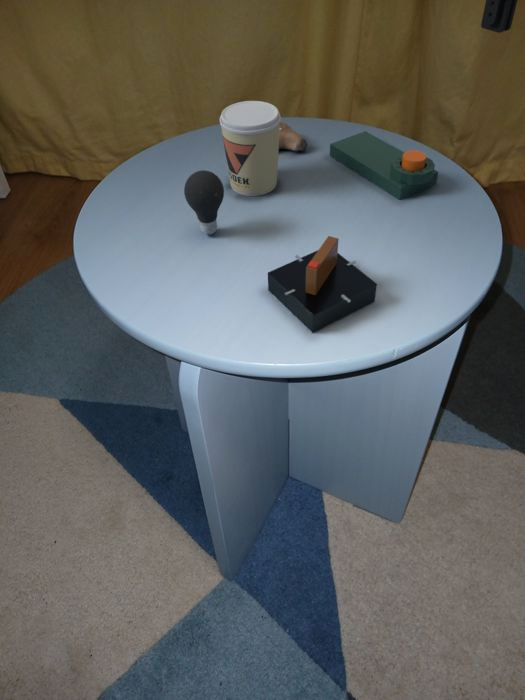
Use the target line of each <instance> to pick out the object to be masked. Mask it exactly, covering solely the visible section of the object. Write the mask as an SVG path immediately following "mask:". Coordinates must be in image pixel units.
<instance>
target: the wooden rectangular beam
mask: <svg viewBox="0 0 525 700" xmlns="http://www.w3.org/2000/svg"><path fill="white" fill-rule="evenodd" d="M338 249H339V238H338V237H334V236H330V235H328V236H327V237H326V239H325V240H324V241H323V243H322V244H321V246H320V247H319V249H317V250H318V251H317V250H316V251H317V253H316V254H315V256H314V257H313V258H312V260H311V261H310V263H309V264H308V265H307V267H306V293H309V294H312V295H316V294H317V293H318V291H319V290H320V288H321V287H322V285H323V283H324V282H325V280H326V279H327V277H328V276H329V274H330V273H331V271H332V270H333V268H334V267H335V265H336V264H337V253H339V252H338V251H339V250H338Z"/></svg>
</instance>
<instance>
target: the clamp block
mask: <svg viewBox="0 0 525 700" xmlns="http://www.w3.org/2000/svg"><path fill="white" fill-rule="evenodd" d="M318 250H319V249H317V250H315V251H313V252H311V253H308V254H306V255H304V256H299V255H298V254H296V255H294V257H295V258H296V259H295V260H293V261H290V262H288V263H286V264H284V265H282V266H279V267H277V268H275V269H273V270H270V271H268V272H267V290H268V291H269V292H270V293H271V294H272V295H273V296H274V297H275V298H276V299H277V300H278V301H279V302H280V303H281V304H282V305H283V306H284V307H285V308H286V309H287V310H288V311H289V312H290V313H292V315H294V317H296V318H297V319H298V320H299V321H300V322H301V324H303V325H304V326H305V327H306V328H307V329H308V330H309V332H311V333H313V334H314V333H316V332H317V331H319V330H322V329H324V328H326V327H327V326H329V325H332V324H333V323H335V322H337V321H339V320H341V319H344V318H345V317H347V316H350V315H351V314H353V313H355V312H357V311H359V310H361V309H363V308H365V307H366V306H368V305H371V304H373V303H375V301H376V295H377V294H376V293H377V288H378V283H377V282H375V281H374V280H372V279H371V278H370V277H369V276H368V275H367V274H366V273H364V272H362V270H360V269H359V268H358V267H356V266H355V264H357V260H353V261H351V262H350V261H349V260H348V259H346V258H345V257H344V256H342V254H340V253H339V252H337V264H336V265H335V267H334V268H333V270H332V271H331V273H330V274H329V276H328V277H327V279H326V280H325V282H324V283H323V285H322V287H321V288H320V290H319V291H318V293H317V294H316V295H312V294H309V293H306V267H307V265H308V264H309V263H310V261H311V260H312V258H313V257H314V256H315V254H316V253H317V251H318Z"/></svg>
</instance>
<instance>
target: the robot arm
mask: <svg viewBox="0 0 525 700" xmlns="http://www.w3.org/2000/svg"><path fill="white" fill-rule="evenodd" d="M517 4H518V0H485V4H484V9H483V14H482V18H481V23H480V27H481V28H482V29H485V30H488V31H491V32H494V33H498V34H500V33H501V34H502V33H503V32H507V31H509V30H511V28H512V24H513V20H514V17H515V11H516V7H517Z"/></svg>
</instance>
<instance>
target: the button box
mask: <svg viewBox="0 0 525 700" xmlns="http://www.w3.org/2000/svg"><path fill="white" fill-rule="evenodd" d="M404 153H405V151H403V150H400V149H399V148H397V147H395V146H393V145H391V144H390V143H388V142H386V141H384V140H382V139H380V138H378V137H377V136H376V135H374V134H372V133H369V132H368V131H366V130H364V131H361V132H359V133H356V134H353V135H351V136H348V137H345V138H343V139H340V140H337V141H334V142H332V143H330V144H329V157H330V158H333V159H334V160H336V161H337V162H339V163H340V164H342V165H343V166H345V167H347V168H349V170H352V171H353V172H355V173H356V174H358V175H360V176H361V177H363V178H364V179H366V180H367V181H369V182H370V183H372V184H374V185H375V186H377V187H378V188H380V189H382V190H383V191H385V192H386V193H387V194H390V195H391V196H393V197H394V198H396V199H398V200H403V199H404V198H407V197H409V196H411V195H414V194H416V193H419V192H421V191H423V190H425V189H427V188H430V187H432V186H434V185H436V184H437V181H438V177H439V171H438V170H437V169H435V167H436V164H435V163H434V160H433V159H431V158H429V157H427V156H426V162H425V167H424V169H422V170H420V171H411V170H406V169H404V168H403V167H402V166H401V164H402V158H403V154H404Z"/></svg>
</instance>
